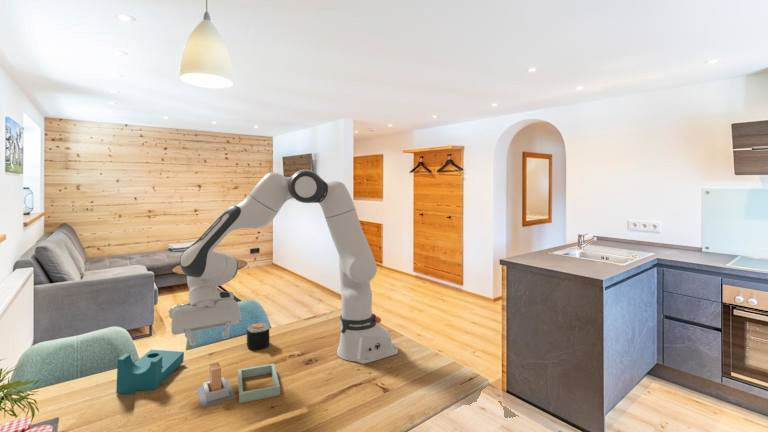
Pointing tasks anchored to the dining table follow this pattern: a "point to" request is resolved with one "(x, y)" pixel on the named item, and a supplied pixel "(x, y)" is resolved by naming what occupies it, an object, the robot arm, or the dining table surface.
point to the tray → (260, 392)
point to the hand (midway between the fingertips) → (209, 340)
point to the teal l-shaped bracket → (146, 370)
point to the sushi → (257, 336)
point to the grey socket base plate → (215, 393)
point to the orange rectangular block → (215, 377)
